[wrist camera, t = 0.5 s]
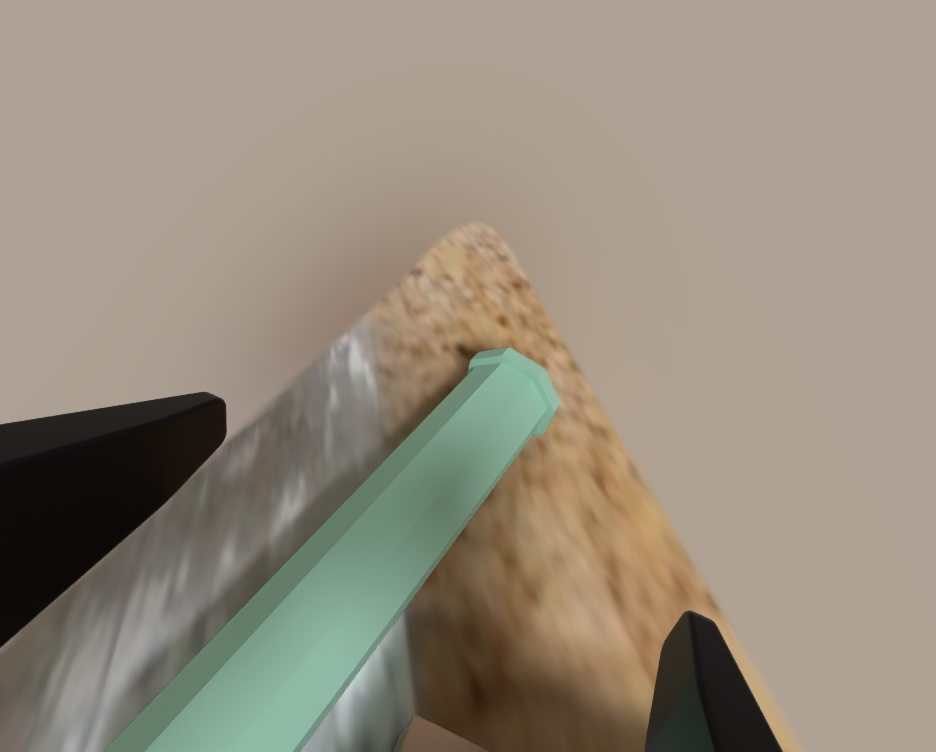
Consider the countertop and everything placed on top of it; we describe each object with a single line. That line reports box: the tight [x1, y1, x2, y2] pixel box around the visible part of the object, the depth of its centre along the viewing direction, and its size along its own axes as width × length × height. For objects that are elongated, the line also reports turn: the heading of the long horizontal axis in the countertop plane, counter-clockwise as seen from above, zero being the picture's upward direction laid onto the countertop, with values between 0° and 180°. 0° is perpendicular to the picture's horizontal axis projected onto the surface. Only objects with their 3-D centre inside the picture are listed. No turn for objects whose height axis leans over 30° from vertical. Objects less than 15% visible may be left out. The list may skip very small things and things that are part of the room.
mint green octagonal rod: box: [103, 347, 561, 752], centre depth 22 cm, size 6×6×25 cm
